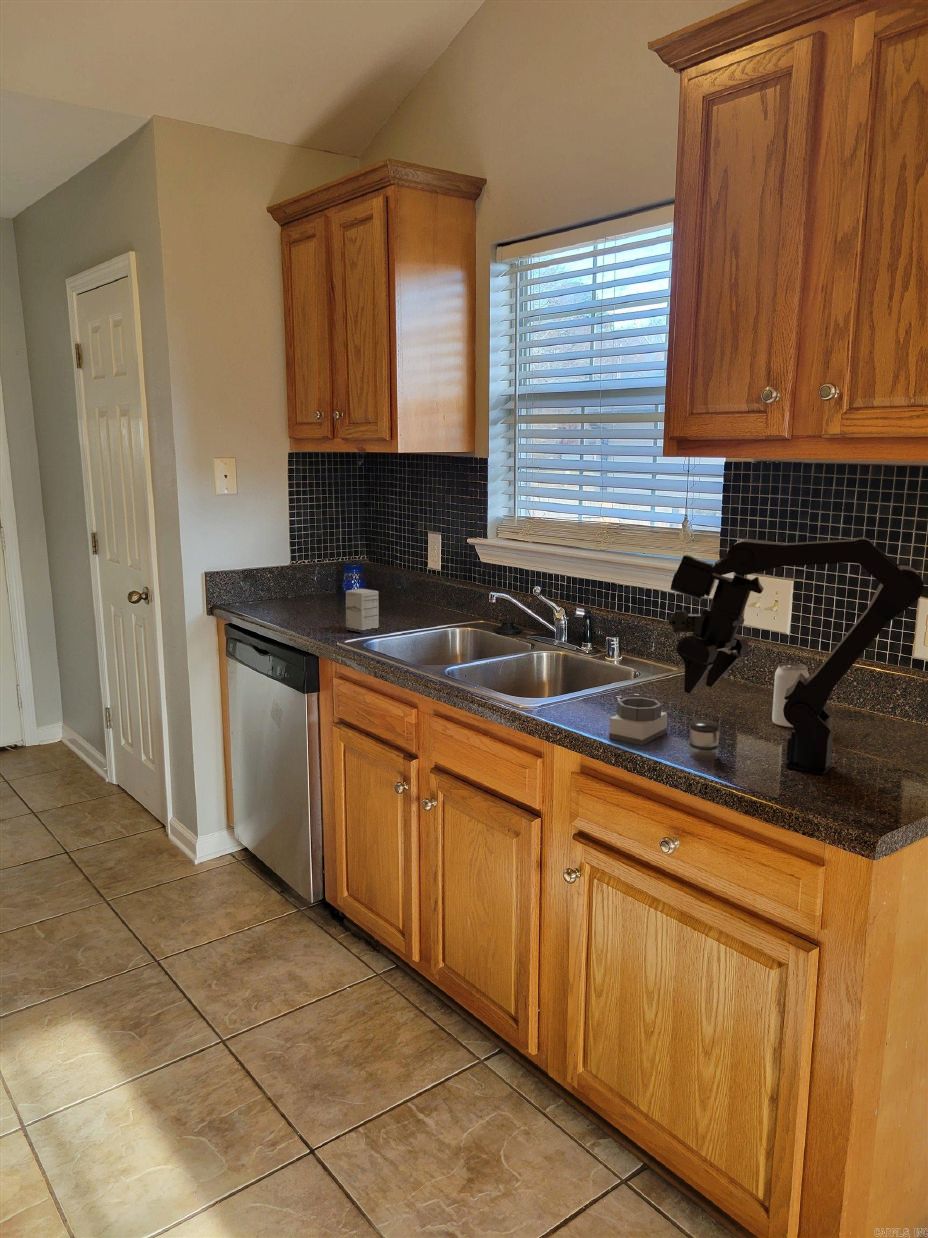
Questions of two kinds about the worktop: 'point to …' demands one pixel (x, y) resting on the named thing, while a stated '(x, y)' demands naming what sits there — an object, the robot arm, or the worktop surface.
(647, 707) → the octagonal ring tray
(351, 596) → the beige wooden tall block
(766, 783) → the worktop surface
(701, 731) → the lens
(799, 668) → the can
